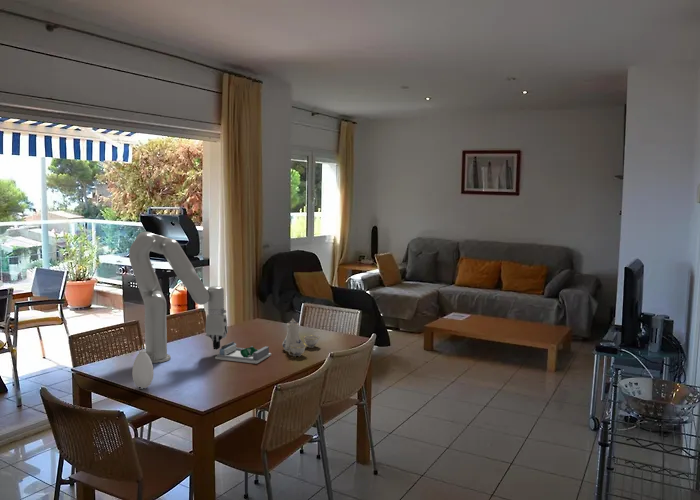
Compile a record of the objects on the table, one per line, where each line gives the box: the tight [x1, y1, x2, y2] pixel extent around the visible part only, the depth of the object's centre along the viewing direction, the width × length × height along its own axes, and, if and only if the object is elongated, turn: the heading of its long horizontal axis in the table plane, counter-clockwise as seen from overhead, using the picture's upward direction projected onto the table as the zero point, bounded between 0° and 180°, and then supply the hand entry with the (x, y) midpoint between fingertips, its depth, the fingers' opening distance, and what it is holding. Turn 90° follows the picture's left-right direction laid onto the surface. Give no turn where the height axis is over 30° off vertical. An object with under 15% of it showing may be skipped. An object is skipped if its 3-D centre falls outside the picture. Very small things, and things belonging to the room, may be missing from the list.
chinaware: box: [282, 318, 321, 357], centre depth 282 cm, size 28×17×17 cm, turn 167°
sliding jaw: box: [218, 340, 237, 355], centre depth 272 cm, size 12×2×4 cm, turn 162°
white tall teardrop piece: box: [131, 343, 155, 389], centre depth 223 cm, size 8×8×18 cm
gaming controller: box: [240, 345, 259, 358], centre depth 267 cm, size 9×4×6 cm
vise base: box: [214, 345, 272, 365], centre depth 269 cm, size 15×22×4 cm
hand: (216, 348), depth 274 cm, fingers closed
